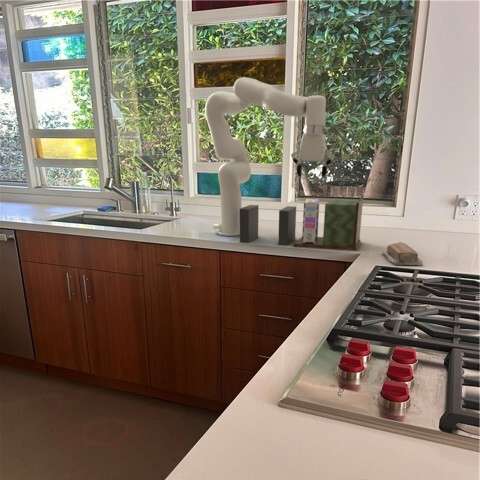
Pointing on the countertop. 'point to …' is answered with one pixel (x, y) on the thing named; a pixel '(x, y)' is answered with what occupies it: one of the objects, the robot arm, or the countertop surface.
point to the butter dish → (402, 254)
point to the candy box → (310, 221)
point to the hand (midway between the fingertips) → (311, 176)
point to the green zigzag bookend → (339, 226)
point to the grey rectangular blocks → (251, 224)
